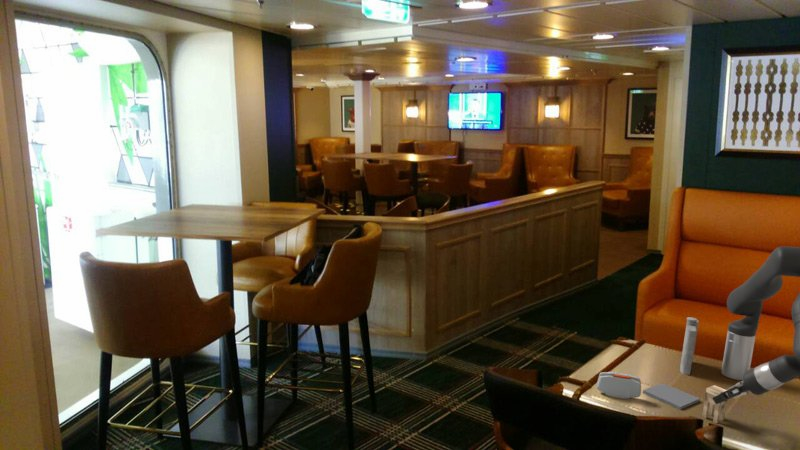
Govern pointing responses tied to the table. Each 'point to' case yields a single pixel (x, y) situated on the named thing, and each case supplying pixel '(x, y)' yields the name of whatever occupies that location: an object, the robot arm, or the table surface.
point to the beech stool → (710, 404)
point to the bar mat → (671, 396)
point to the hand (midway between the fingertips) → (721, 397)
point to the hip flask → (689, 345)
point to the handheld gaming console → (619, 385)
